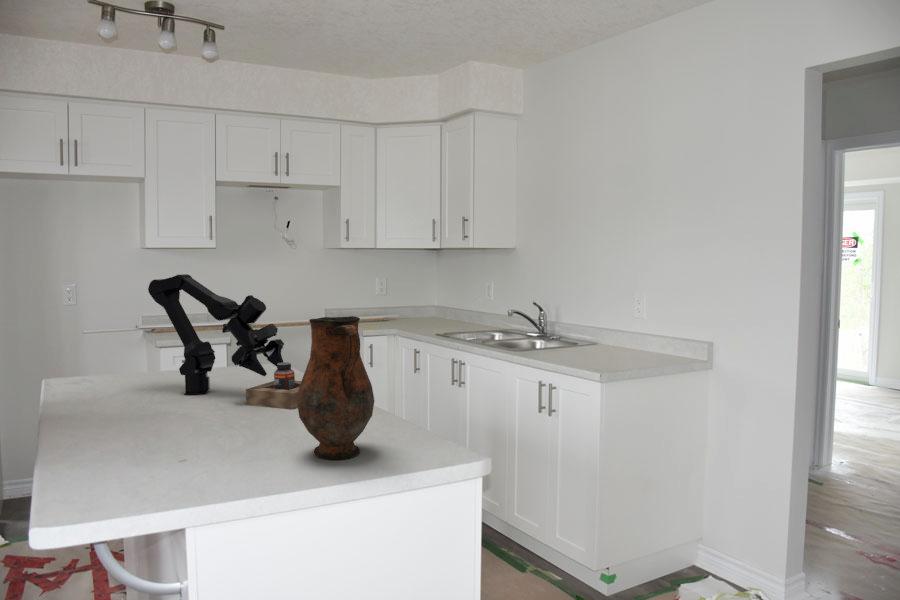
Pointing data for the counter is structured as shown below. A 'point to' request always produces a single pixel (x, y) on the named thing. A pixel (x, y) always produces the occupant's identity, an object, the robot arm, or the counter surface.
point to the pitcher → (335, 388)
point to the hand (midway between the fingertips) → (275, 372)
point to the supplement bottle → (284, 377)
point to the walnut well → (273, 396)
